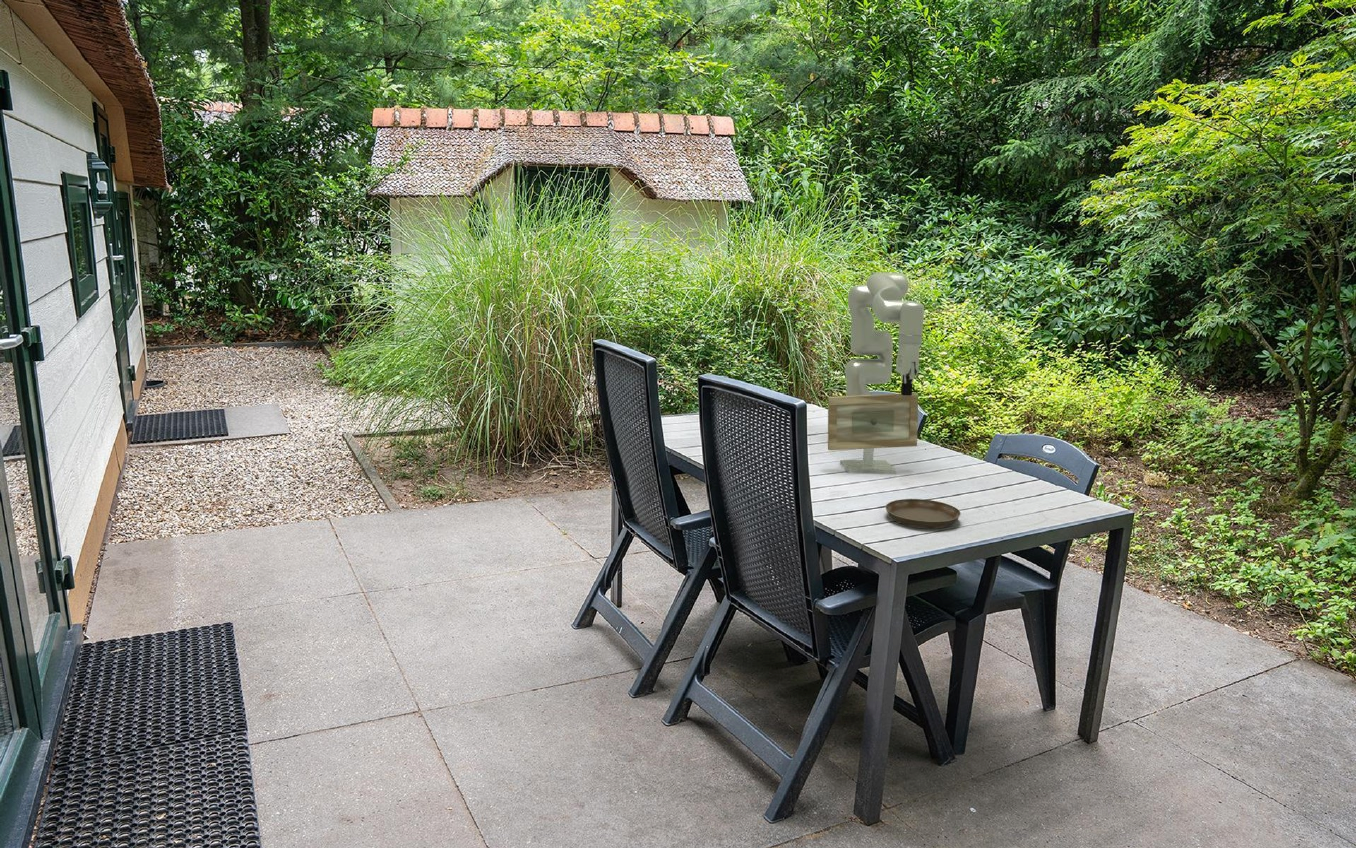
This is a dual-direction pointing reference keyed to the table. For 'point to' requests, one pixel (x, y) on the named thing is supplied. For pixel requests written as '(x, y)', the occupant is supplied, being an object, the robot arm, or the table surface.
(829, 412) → the picture frame
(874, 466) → the frame stand
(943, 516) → the plant saucer
